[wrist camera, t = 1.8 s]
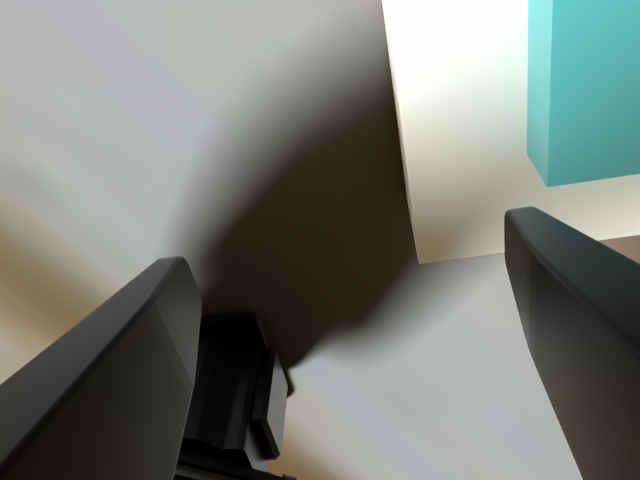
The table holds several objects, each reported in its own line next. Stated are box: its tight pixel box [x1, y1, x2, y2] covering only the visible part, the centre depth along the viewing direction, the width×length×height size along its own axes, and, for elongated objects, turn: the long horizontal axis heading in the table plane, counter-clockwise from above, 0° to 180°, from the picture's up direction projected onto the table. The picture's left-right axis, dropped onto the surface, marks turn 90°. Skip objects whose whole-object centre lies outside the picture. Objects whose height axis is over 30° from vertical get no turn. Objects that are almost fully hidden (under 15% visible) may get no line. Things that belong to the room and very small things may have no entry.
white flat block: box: [382, 0, 640, 264], centre depth 17 cm, size 13×12×4 cm
